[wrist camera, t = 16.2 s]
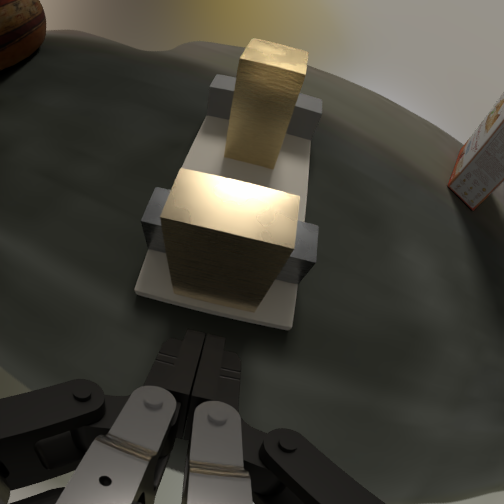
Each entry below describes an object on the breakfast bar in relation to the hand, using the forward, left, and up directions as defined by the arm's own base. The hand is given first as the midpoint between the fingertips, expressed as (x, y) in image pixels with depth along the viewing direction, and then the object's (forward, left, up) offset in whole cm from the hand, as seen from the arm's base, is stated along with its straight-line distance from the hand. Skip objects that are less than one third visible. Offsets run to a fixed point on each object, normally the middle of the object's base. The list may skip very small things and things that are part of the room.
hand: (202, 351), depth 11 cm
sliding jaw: (0, +8, -9) cm, 12 cm away
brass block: (0, +22, -9) cm, 24 cm away
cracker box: (+33, +32, -10) cm, 47 cm away
